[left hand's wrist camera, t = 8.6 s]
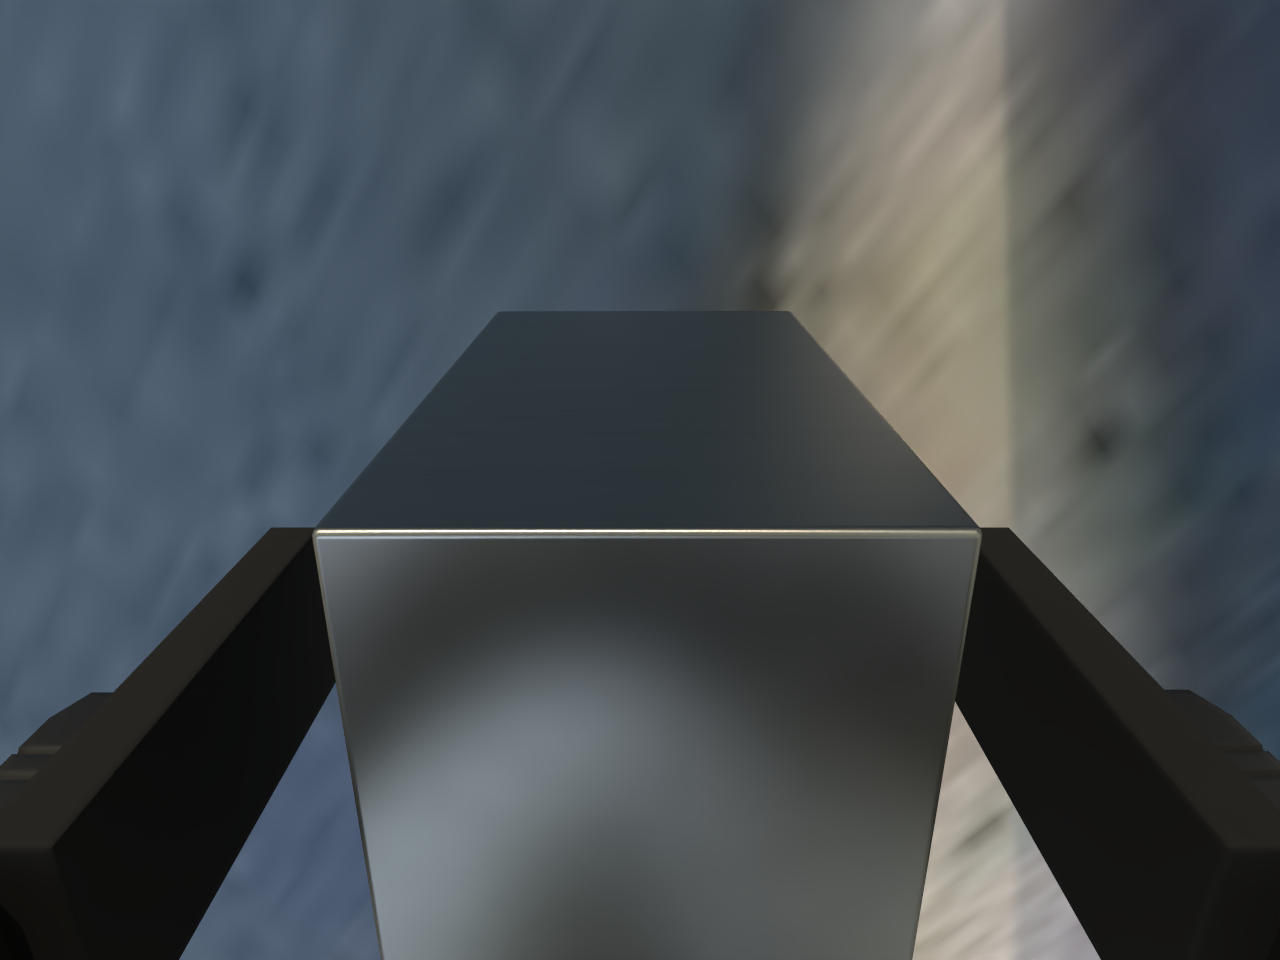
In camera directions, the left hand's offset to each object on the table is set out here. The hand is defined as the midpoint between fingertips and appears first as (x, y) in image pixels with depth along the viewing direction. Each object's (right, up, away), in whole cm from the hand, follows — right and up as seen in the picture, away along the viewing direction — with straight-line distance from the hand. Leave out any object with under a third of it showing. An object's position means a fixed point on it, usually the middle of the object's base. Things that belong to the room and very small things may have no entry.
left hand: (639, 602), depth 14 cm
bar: (0, -6, +4) cm, 8 cm away
